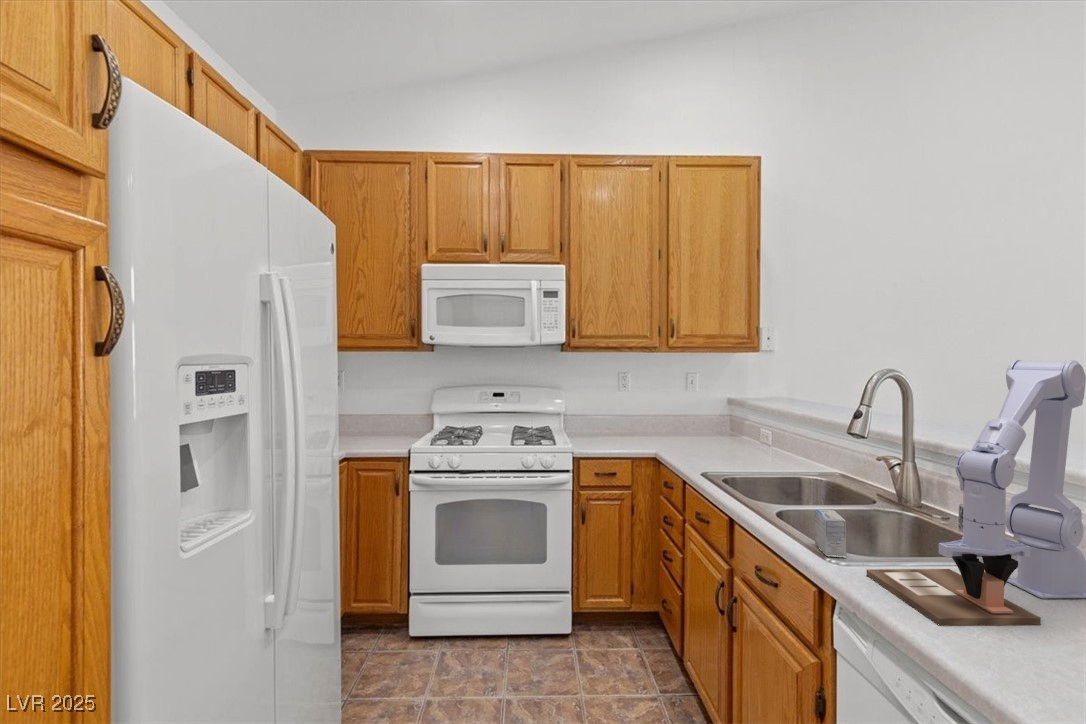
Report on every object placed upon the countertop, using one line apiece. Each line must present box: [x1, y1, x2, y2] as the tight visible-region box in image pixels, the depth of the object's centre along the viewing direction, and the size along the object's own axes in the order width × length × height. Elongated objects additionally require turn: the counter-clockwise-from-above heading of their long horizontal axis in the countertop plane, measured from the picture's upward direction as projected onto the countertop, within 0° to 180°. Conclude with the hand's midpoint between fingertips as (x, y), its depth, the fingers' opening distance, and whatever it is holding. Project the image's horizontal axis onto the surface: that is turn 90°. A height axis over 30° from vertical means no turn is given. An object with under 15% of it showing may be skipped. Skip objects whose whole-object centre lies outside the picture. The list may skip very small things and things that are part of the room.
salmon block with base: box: [955, 571, 1013, 613], centre depth 94 cm, size 4×8×5 cm, turn 0°
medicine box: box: [814, 509, 847, 557], centre depth 122 cm, size 8×4×9 cm, turn 168°
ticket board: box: [866, 568, 1042, 626], centre depth 99 cm, size 17×20×2 cm
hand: (983, 596), depth 93 cm, fingers closed on salmon block with base, 3 cm apart
